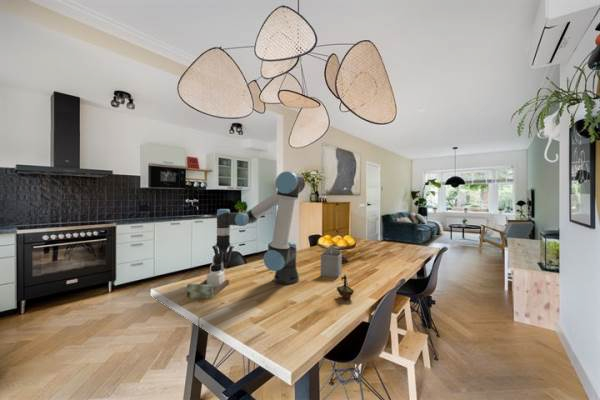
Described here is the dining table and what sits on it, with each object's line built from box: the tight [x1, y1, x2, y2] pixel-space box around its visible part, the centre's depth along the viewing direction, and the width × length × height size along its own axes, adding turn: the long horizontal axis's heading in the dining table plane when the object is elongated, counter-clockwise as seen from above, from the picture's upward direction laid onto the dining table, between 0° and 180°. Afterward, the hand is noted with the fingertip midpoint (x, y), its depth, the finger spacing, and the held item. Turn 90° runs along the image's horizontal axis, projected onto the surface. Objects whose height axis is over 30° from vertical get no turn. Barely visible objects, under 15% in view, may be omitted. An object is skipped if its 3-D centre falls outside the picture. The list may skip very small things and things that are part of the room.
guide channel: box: [186, 278, 230, 299], centre depth 128 cm, size 13×20×6 cm, turn 172°
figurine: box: [336, 274, 355, 300], centre depth 120 cm, size 10×8×12 cm
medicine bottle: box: [206, 263, 225, 289], centre depth 135 cm, size 7×7×12 cm
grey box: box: [320, 244, 343, 279], centre depth 154 cm, size 16×8×19 cm, turn 116°
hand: (222, 273), depth 144 cm, fingers closed
